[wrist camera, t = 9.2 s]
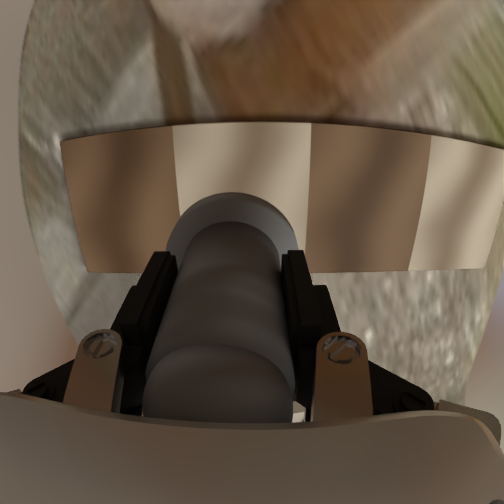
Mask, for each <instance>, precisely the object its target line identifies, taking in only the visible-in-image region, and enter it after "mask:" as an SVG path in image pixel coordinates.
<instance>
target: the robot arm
mask: <svg viewBox="0 0 504 504" xmlns="http://www.w3.org/2000/svg"><path fill="white" fill-rule="evenodd" d="M177 274H178V268H177V261H176V256H175V255H171V253H170V252H169V251H154V253H153V254H152V256H151V258H150V260H149V262H148V264H147V266H146V268H145V270H144V272H143V274H142V275H141V277H140V279H139V281H138V283H137V285H136V286H135V285H134V286H132V287H131V288H130V290H129V292H128V294H127V296H126V298H125V300H124V302H123V304H122V306H121V308H120V310H119V312H118V314H117V316H116V318H115V320H114V322H113V324H112V326H111V328H110V329H101V330H96V331H94V332H91V333H90V334H88V335H86V336H85V337H84V338H83V339H82V340H81V342H80V344H79V347H78V350H77V353H76V357H75V359H73V360H71V361H69V362H67V363H66V364H63V365H61V366H60V367H58V368H55V369H54V370H51V371H49V372H48V373H46V374H44V375H42V376H40V377H38V378H36V379H34V380H32V381H31V382H30V383H28V384H27V385H26V387H25V388H24V390H23V392H22V391H21V390H20V389H17V390H14V391H10V392H0V504H504V454H503V452H502V450H501V448H500V438H501V425H500V423H499V421H498V419H497V418H496V417H495V416H494V415H493V414H491V413H488V412H485V411H481V410H477V409H473V408H469V407H466V406H462V405H458V404H455V403H451V402H447V401H444V400H439V402H438V403H437V402H434V401H433V400H432V398H431V396H430V395H429V394H428V393H427V392H426V391H425V390H423V389H422V388H420V387H418V386H416V385H414V384H412V383H410V382H408V381H406V380H404V379H402V378H401V377H399V376H397V375H395V374H393V373H391V372H389V371H387V370H386V369H384V368H382V367H380V366H378V365H376V364H374V363H372V362H371V361H369V360H368V356H367V349H366V346H365V344H364V343H363V342H362V340H361V339H359V338H358V337H357V336H355V335H352V334H350V333H346V332H341V330H340V327H339V324H338V320H337V317H336V314H335V311H334V307H333V304H332V301H331V298H330V294H329V291H328V288H327V286H326V285H313V284H312V280H311V276H310V273H309V269H308V265H307V261H306V258H305V254H304V251H303V250H288V252H287V254H282V260H281V277H282V284H283V292H284V300H285V308H286V316H287V324H288V333H289V341H290V350H291V354H292V359H293V368H294V377H295V391H294V395H293V397H292V400H293V401H296V402H298V403H299V404H300V405H302V406H303V407H305V412H304V422H292V423H212V422H194V421H180V420H169V419H159V418H150V417H143V411H142V400H143V393H144V388H145V385H146V383H147V382H146V376H145V372H146V367H147V364H148V360H149V357H150V354H151V351H152V348H153V344H154V341H155V338H156V335H157V332H158V329H159V326H160V323H161V320H162V317H163V314H164V311H165V308H166V305H167V302H168V299H169V297H170V294H171V291H172V288H173V285H174V282H175V279H176V277H177Z"/></svg>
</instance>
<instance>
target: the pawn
mask: <svg viewBox="0 0 504 504" xmlns="http://www.w3.org/2000/svg"><path fill="white" fill-rule="evenodd" d="M288 250H299V248H298V244H297V240H296V237H295V233H294V230H293V228H292V226H291V224H290V223H289V221H288V220H287V218H286V217H285V216H284V215H283V213H282V212H281V211H280V210H279V209H277V208H276V207H275V206H274V205H272V204H271V203H269V202H267V201H266V200H264V199H262V198H259V197H257V196H254V195H250V194H246V193H240V192H225V193H218V194H214V195H211V196H208V197H205V198H203V199H201V200H199V201H197V202H196V203H194V204H193V205H191V206H190V207H189V208H188V209H187V210H186V211H185V212H184V213H183V214H182V215H181V217H180V218H179V220H178V221H177V223H176V225H175V227H174V229H173V231H172V233H171V235H170V237H169V239H168V242H167V246H166V251H169V252H170V253H171V255H175V256H176V261H177V268H178V274H177V277H176V279H175V282H174V285H173V288H172V291H171V294H170V297H169V299H168V302H167V305H166V308H165V311H164V314H163V317H162V320H161V323H160V326H159V329H158V332H157V335H156V338H155V341H154V344H153V348H152V351H151V354H150V357H149V360H148V364H147V367H146V372H145V376H146V382H147V383H146V385H145V388H144V393H143V400H142V411H143V417H150V418H159V419H169V420H180V421H194V422H212V423H292V420H293V400H292V397H293V395H294V391H295V377H294V368H293V359H292V354H291V350H290V341H289V333H288V324H287V316H286V308H285V300H284V292H283V284H282V277H281V260H282V254H287V252H288Z"/></svg>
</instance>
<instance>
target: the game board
mask: <svg viewBox="0 0 504 504" xmlns="http://www.w3.org/2000/svg"><path fill="white" fill-rule="evenodd" d="M60 146H61V153H62V160H63V166H64V172H65V178H66V183H67V189H68V194H69V199H70V204H71V208H72V213H73V218H74V222H75V226H76V230H77V234H78V238H79V242H80V246H81V250H82V254H83V257H84V261H85V265H86V268H87V271H88V272H102V273H143V272H144V270H145V268H146V266H147V264H148V262H149V260H150V258H151V256H152V254H153V253H154V251H166V246H167V242H168V239H169V237H170V235H171V233H172V231H173V229H174V227H175V225H176V223H177V221H178V220H179V218H180V217H181V215H182V214H183V213H184V212H185V211H186V210H187V209H188V208H189V207H190V206H191V205H193V204H194V203H196V202H197V201H199V200H201V199H203V198H205V197H208V196H211V195H214V194H218V193H225V192H240V193H246V194H250V195H254V196H257V197H259V198H262V199H264V200H266V201H267V202H269V203H271V204H272V205H274V206H275V207H276V208H277V209H279V210H280V211H281V212H282V213H283V215H284V216H285V217H286V218H287V220H288V221H289V223H290V224H291V226H292V228H293V230H294V233H295V237H296V240H297V244H298V248H299V250H303V251H304V254H305V258H306V261H307V265H308V269H309V273H337V272H382V271H417V270H446V269H472V268H484V267H485V264H486V261H487V258H488V255H489V252H490V249H491V245H492V242H493V239H494V235H495V232H496V228H497V224H498V220H499V217H500V213H501V208H502V204H503V200H504V149H501V148H497V147H492V146H488V145H484V144H479V143H475V142H470V141H465V140H460V139H454V138H449V137H443V136H438V135H432V134H425V133H419V132H412V131H404V130H397V129H388V128H379V127H370V126H359V125H346V124H332V123H313V122H275V121H254V122H216V123H197V124H182V125H170V126H159V127H149V128H140V129H132V130H124V131H116V132H109V133H103V134H96V135H90V136H84V137H78V138H73V139H68V140H63V141H61V142H60Z"/></svg>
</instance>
